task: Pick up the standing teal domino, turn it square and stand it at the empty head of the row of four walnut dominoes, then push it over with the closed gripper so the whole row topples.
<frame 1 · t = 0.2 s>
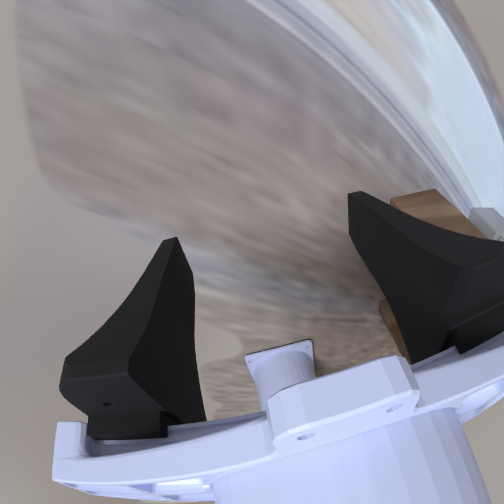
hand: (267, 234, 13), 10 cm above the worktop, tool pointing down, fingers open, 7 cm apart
walnut domino 1: (397, 300, 34), on the worktop
walnut domino 4: (412, 201, 25), on the worktop
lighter: (487, 213, 28), on the worktop
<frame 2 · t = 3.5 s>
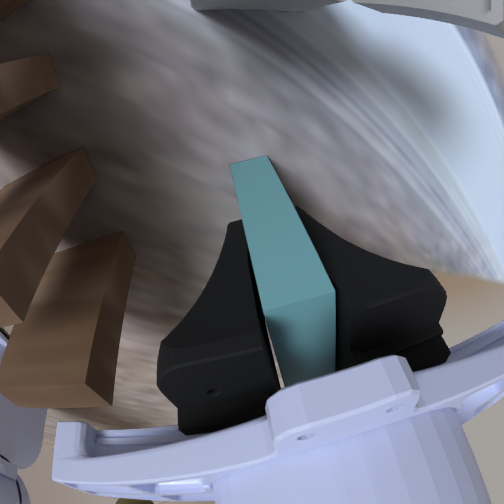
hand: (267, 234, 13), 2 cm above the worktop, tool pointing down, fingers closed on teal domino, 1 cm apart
walnut domino 1: (87, 256, 15), on the worktop
teal domino: (259, 209, 14), on the worktop, touching gripper
walnut domino 2: (46, 182, 12), on the worktop
walnut domino 3: (10, 96, 9), on the worktop
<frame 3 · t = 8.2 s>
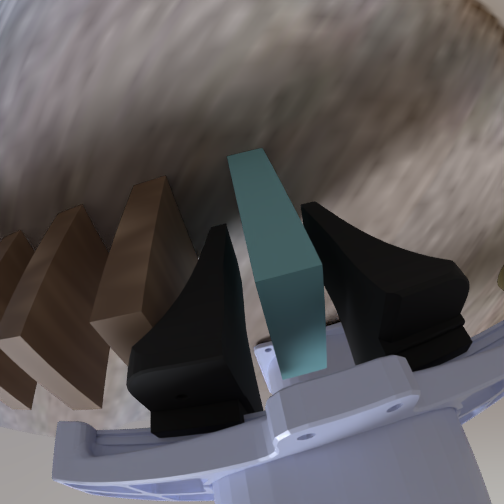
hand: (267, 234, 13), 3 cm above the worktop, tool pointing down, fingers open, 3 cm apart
walnut domino 1: (167, 224, 15), on the worktop
teal domino: (255, 199, 15), on the worktop
walnut domino 2: (91, 247, 15), on the worktop
walnut domino 3: (33, 266, 15), on the worktop
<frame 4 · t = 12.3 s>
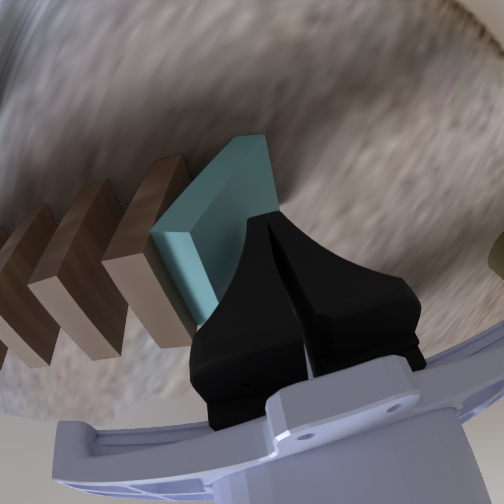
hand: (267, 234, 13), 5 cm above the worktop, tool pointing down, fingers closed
walnut domino 1: (182, 197, 17), on the worktop, tilted 7°
teal domino: (259, 177, 17), on the worktop, tilted 27°
walnut domino 4: (11, 256, 17), on the worktop
walnut domino 2: (111, 218, 17), on the worktop
walnut domino 3: (54, 239, 17), on the worktop
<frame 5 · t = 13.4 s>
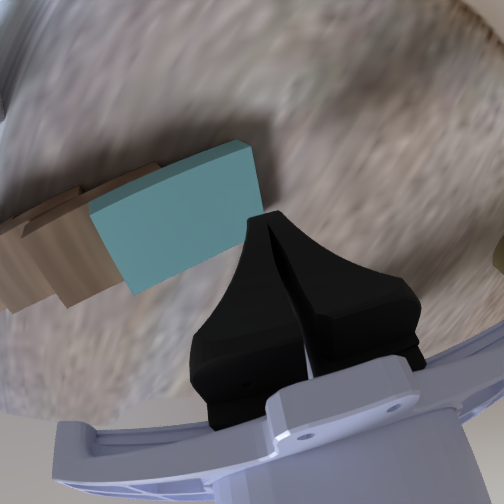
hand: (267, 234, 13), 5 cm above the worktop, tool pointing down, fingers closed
walnut domino 1: (172, 206, 17), point 1 cm above the worktop, tilted 70°, touching teal domino
teal domino: (252, 185, 16), point 1 cm above the worktop, tilted 70°, touching walnut domino 1
walnut domino 2: (95, 226, 16), point 1 cm above the worktop, tilted 72°, touching walnut domino 3
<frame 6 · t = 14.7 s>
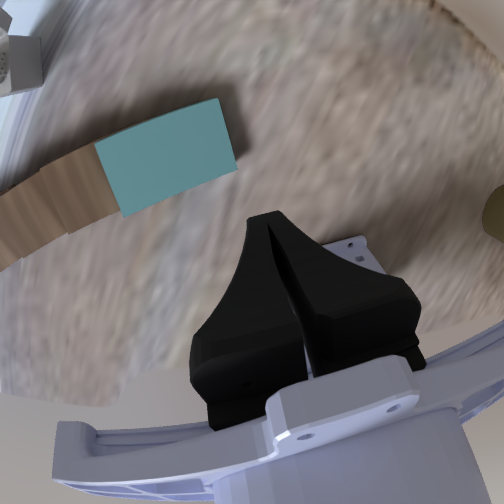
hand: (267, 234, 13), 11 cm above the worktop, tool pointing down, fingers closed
walnut domino 1: (159, 152, 20), point 1 cm above the worktop, tilted 72°, touching teal domino
teal domino: (223, 133, 20), point 1 cm above the worktop, tilted 69°, touching walnut domino 1
olive piece: (498, 209, 26), on the worktop
walnut domino 2: (94, 177, 20), point 1 cm above the worktop, tilted 70°, touching walnut domino 3
walnut domino 3: (36, 209, 20), point 1 cm above the worktop, tilted 72°, touching walnut domino 2, walnut domino 4
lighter: (33, 47, 15), on the worktop
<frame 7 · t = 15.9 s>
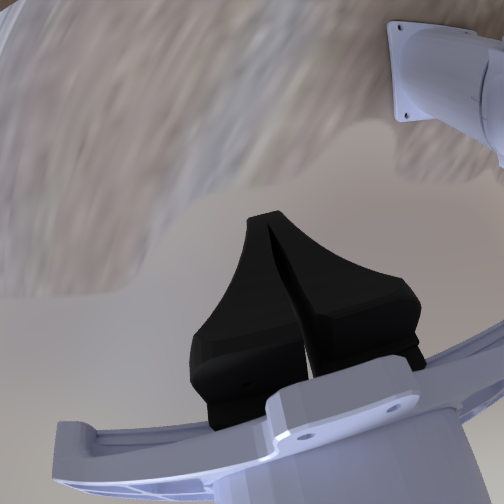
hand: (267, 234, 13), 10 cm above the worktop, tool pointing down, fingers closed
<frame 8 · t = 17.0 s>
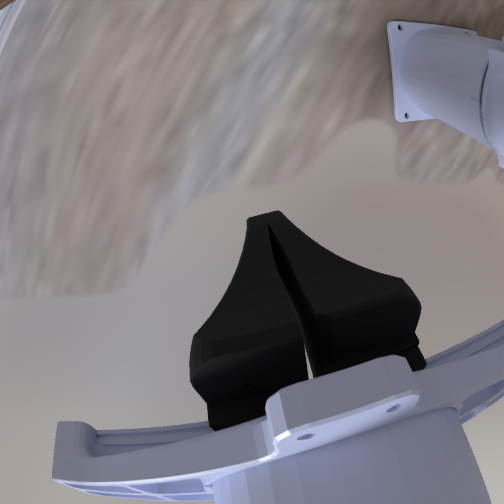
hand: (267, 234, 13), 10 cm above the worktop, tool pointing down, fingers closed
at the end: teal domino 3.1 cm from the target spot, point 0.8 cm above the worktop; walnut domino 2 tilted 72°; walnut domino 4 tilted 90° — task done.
